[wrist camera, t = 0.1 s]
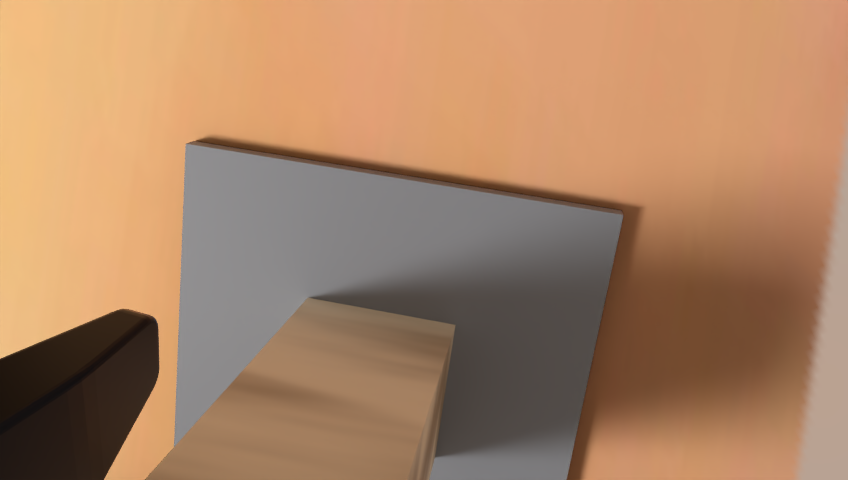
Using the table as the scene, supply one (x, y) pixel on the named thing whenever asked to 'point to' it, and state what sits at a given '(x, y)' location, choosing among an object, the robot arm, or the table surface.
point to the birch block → (326, 403)
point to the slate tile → (401, 291)
